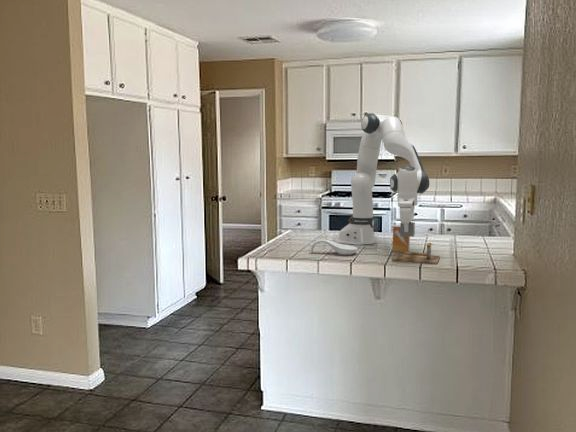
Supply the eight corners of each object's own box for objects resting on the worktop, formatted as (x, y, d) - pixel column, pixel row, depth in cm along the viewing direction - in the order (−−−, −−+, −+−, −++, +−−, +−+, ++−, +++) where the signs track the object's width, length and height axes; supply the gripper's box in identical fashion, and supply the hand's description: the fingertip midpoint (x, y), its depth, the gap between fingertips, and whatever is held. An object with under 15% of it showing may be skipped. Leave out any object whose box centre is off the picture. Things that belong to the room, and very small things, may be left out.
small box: (392, 251, 263) (392, 226, 261) (393, 249, 269) (394, 224, 267) (408, 252, 260) (409, 226, 259) (409, 250, 266) (410, 225, 265)
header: (392, 261, 240) (392, 244, 239) (397, 255, 254) (397, 239, 253) (437, 264, 233) (437, 247, 232) (439, 257, 247) (440, 241, 246)
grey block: (400, 236, 243) (400, 223, 242) (401, 234, 247) (401, 222, 247) (413, 236, 240) (414, 223, 240) (415, 234, 245) (415, 222, 244)
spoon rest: (358, 252, 263) (358, 238, 262) (357, 257, 251) (357, 242, 250) (311, 251, 266) (311, 237, 266) (308, 256, 255) (308, 241, 254)
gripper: (403, 199, 253) (403, 227, 254) (397, 203, 234) (397, 233, 235) (417, 199, 251) (416, 227, 252) (411, 203, 232) (411, 234, 233)
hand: (407, 230), depth 244 cm, fingers closed on grey block, 5 cm apart
